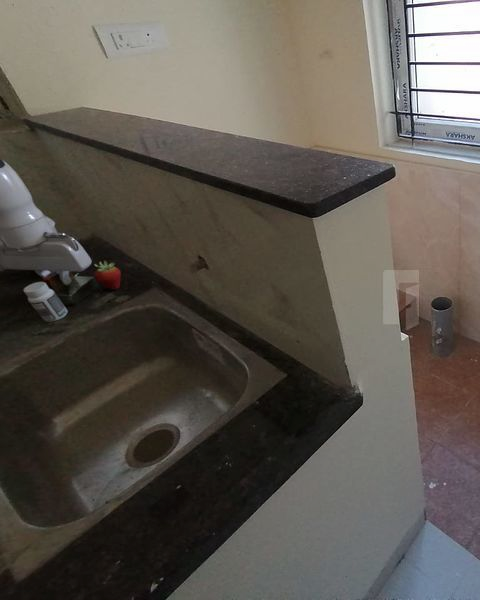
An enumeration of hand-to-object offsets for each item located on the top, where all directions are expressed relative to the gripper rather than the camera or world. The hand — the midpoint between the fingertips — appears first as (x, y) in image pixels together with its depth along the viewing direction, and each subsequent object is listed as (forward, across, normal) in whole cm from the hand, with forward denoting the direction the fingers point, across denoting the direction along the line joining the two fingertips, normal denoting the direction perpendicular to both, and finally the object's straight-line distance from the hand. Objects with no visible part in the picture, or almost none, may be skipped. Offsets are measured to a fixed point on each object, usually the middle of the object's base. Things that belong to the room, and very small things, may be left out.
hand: (60, 283), depth 94 cm
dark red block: (+1, 0, 0) cm, 1 cm away
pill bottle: (+4, -3, +8) cm, 9 cm away
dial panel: (+4, 0, 0) cm, 4 cm away
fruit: (+4, -10, -3) cm, 11 cm away
